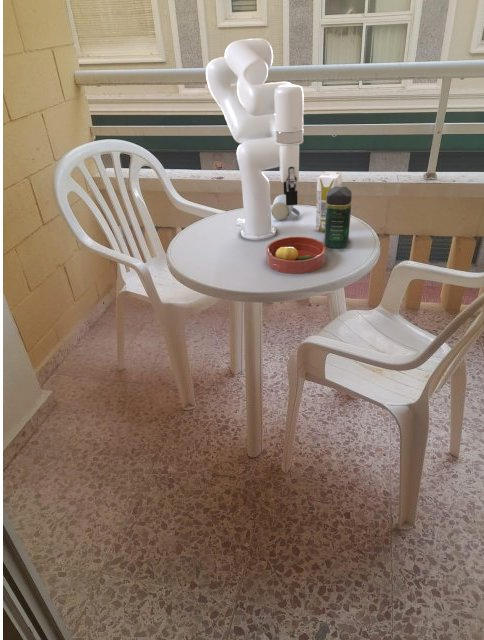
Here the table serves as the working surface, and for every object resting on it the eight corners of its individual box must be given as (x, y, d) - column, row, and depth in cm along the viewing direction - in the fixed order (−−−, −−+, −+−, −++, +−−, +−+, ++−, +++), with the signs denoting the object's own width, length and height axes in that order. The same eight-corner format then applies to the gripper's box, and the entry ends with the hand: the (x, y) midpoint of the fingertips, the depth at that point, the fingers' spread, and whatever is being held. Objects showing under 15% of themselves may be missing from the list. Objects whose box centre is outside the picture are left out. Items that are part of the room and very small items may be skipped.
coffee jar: (347, 251, 147) (351, 194, 137) (322, 249, 149) (324, 193, 138) (349, 238, 155) (353, 184, 144) (326, 237, 157) (328, 183, 146)
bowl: (256, 268, 141) (255, 255, 138) (283, 245, 154) (282, 233, 151) (310, 279, 133) (311, 266, 130) (334, 254, 146) (334, 241, 143)
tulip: (276, 264, 141) (275, 251, 139) (275, 257, 145) (274, 244, 143) (316, 262, 141) (317, 249, 138) (315, 255, 145) (315, 242, 142)
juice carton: (314, 231, 162) (315, 177, 151) (320, 222, 168) (322, 170, 157) (335, 233, 159) (337, 178, 148) (340, 224, 166) (343, 171, 155)
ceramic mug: (270, 220, 172) (270, 201, 168) (274, 213, 179) (273, 193, 174) (298, 222, 170) (298, 201, 166) (301, 214, 177) (301, 194, 172)
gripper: (274, 131, 130) (276, 191, 140) (277, 145, 116) (279, 210, 126) (300, 129, 130) (300, 189, 140) (306, 143, 116) (306, 208, 126)
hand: (290, 199), depth 133 cm, fingers open, 9 cm apart
